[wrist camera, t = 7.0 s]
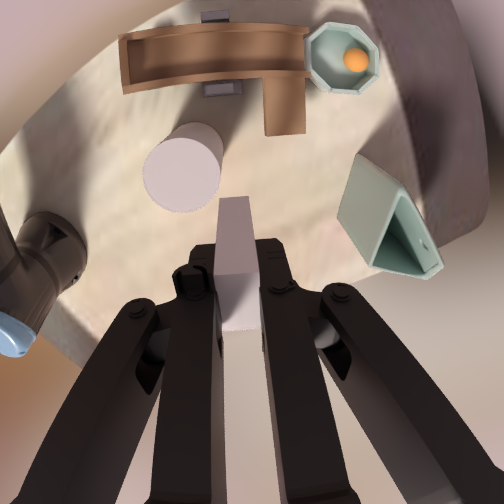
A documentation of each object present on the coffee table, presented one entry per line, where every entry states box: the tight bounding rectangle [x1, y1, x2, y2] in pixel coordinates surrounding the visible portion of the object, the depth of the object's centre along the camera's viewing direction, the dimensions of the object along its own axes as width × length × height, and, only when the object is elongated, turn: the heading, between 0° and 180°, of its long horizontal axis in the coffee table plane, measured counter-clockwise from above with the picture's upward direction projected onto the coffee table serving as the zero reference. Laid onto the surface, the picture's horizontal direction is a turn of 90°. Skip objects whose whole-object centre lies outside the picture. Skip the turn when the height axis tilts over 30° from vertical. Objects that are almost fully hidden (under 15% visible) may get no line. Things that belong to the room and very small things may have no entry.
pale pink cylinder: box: [143, 122, 224, 213], centre depth 34 cm, size 8×8×12 cm
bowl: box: [303, 22, 379, 95], centre depth 31 cm, size 10×10×4 cm
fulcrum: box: [201, 10, 242, 97], centre depth 28 cm, size 5×10×10 cm, turn 3°
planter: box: [337, 153, 445, 280], centre depth 37 cm, size 16×8×20 cm, turn 32°
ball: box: [343, 48, 369, 72], centre depth 30 cm, size 4×4×4 cm
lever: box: [118, 22, 311, 137], centre depth 26 cm, size 20×13×3 cm
